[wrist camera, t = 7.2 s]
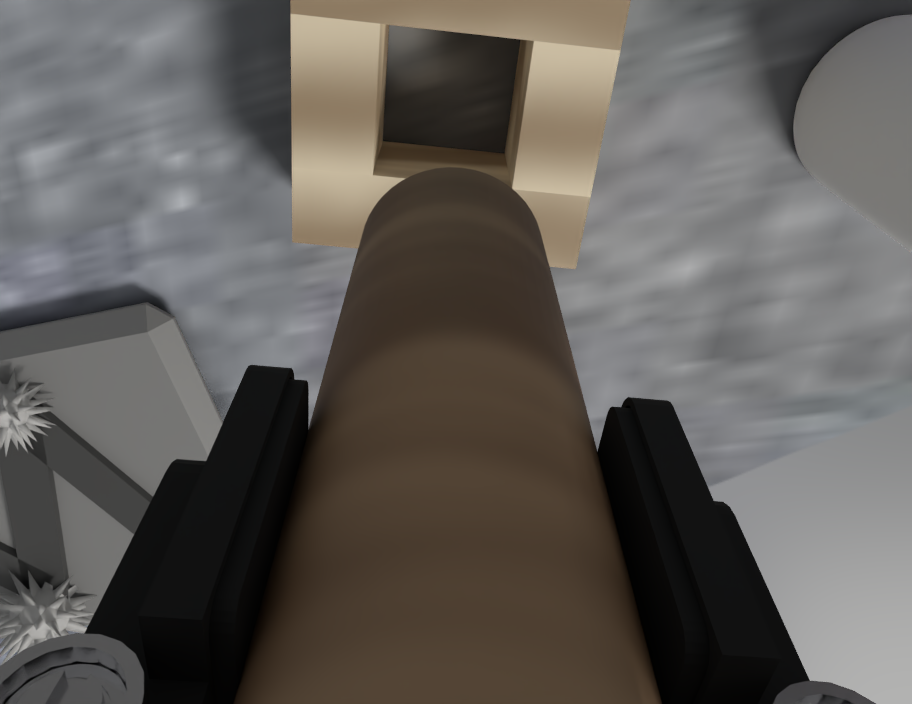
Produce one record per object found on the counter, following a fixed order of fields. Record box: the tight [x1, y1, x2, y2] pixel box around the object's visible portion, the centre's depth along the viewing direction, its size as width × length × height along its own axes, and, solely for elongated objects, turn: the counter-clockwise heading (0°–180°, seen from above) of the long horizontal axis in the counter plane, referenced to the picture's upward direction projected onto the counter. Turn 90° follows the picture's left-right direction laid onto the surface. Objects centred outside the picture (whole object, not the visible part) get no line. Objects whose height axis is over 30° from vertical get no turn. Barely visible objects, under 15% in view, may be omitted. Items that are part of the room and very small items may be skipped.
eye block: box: [290, 0, 631, 269], centre depth 31 cm, size 12×12×5 cm
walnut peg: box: [233, 167, 662, 704], centre depth 10 cm, size 4×4×14 cm
